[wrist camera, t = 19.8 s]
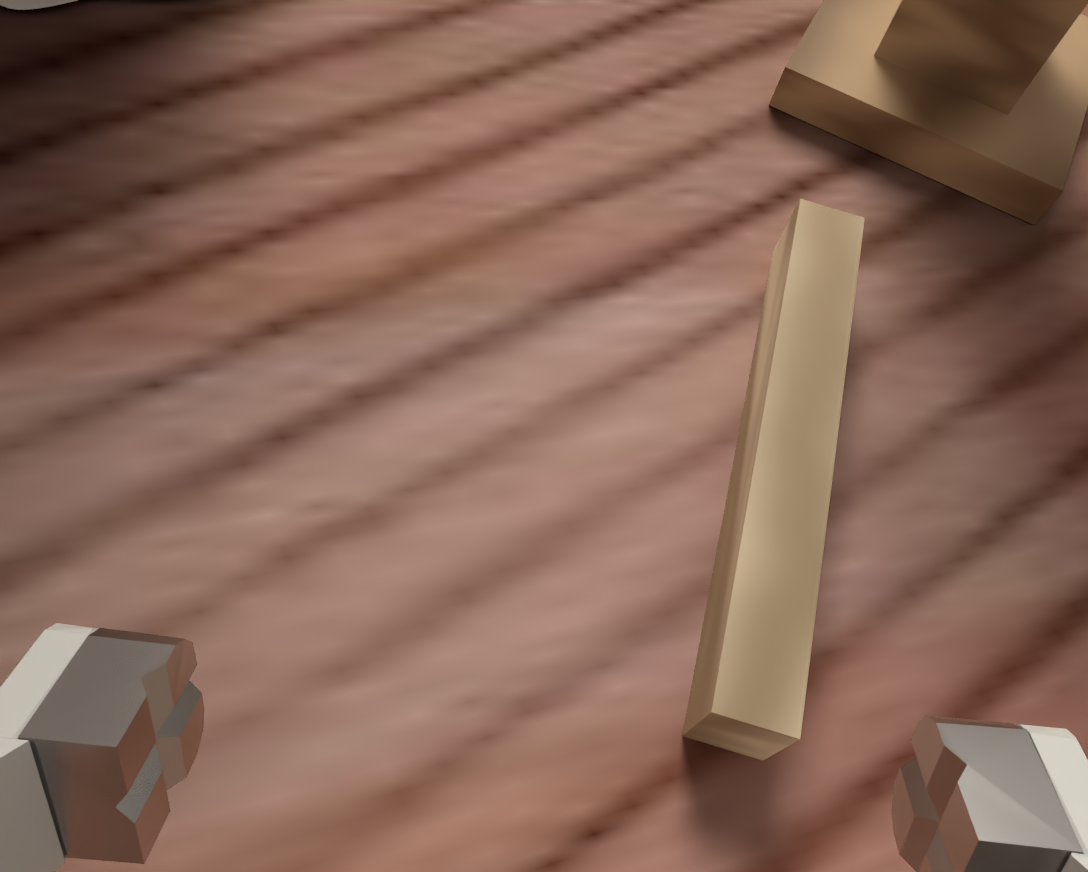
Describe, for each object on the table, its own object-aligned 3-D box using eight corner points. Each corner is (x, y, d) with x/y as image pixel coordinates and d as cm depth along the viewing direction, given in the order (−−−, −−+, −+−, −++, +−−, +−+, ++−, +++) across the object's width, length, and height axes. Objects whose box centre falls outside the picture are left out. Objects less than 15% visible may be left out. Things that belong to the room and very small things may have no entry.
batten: (679, 738, 28) (711, 712, 25) (770, 256, 37) (800, 198, 34) (759, 762, 28) (799, 739, 25) (829, 274, 37) (864, 217, 34)
